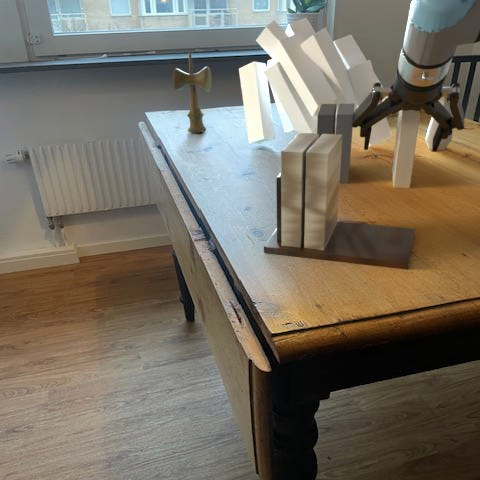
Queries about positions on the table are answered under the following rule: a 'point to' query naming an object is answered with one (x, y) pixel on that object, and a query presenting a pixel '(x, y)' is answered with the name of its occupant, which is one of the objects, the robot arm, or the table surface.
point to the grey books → (338, 131)
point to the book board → (358, 245)
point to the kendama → (193, 92)
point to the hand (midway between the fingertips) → (399, 144)
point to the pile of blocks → (305, 80)
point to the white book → (405, 148)
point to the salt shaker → (433, 128)
